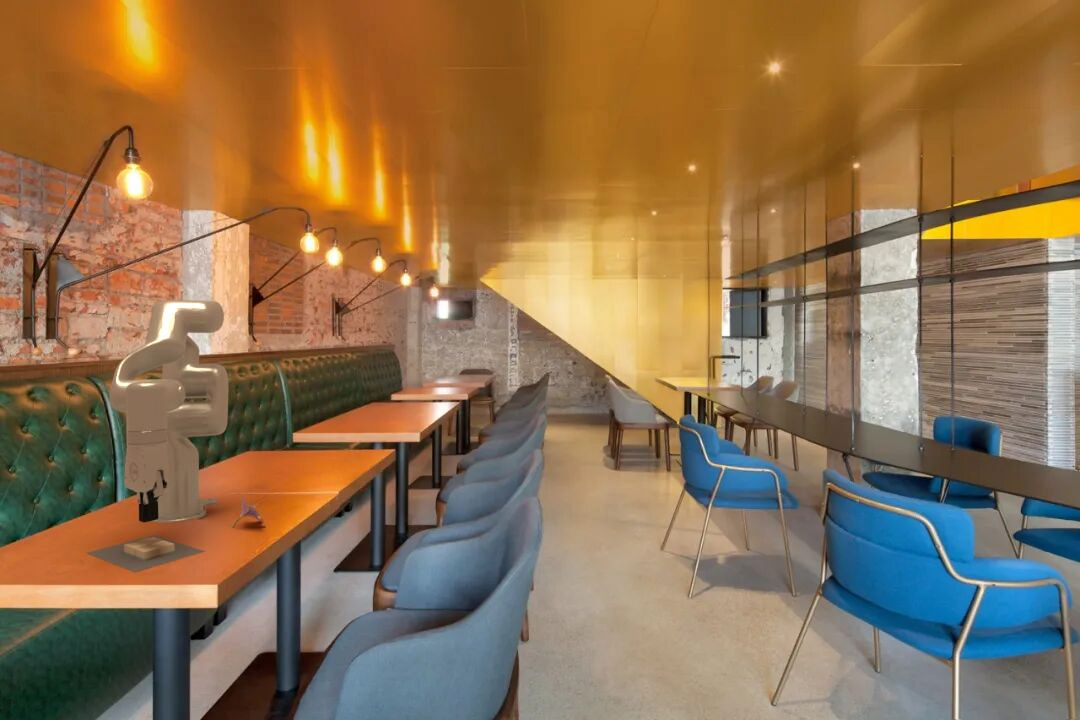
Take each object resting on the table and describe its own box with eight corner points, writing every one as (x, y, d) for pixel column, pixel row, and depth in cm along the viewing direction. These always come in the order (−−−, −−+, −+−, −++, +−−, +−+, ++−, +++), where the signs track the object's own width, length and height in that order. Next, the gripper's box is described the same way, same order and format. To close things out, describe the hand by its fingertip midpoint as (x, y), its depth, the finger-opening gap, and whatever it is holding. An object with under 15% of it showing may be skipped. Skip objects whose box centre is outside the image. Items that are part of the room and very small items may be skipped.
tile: (153, 537, 132) (174, 543, 127) (153, 545, 132) (174, 552, 127) (123, 544, 127) (144, 552, 122) (123, 553, 127) (144, 561, 122)
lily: (255, 539, 141) (274, 502, 145) (208, 523, 140) (228, 485, 143) (264, 540, 152) (281, 505, 156) (220, 524, 151) (238, 489, 154)
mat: (154, 538, 139) (154, 535, 139) (205, 554, 128) (205, 551, 128) (85, 556, 127) (85, 552, 127) (135, 576, 116) (135, 572, 116)
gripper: (111, 437, 127) (113, 519, 127) (146, 442, 119) (147, 530, 120) (148, 433, 133) (150, 511, 134) (183, 438, 126) (184, 521, 126)
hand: (148, 520), depth 127 cm, fingers closed
